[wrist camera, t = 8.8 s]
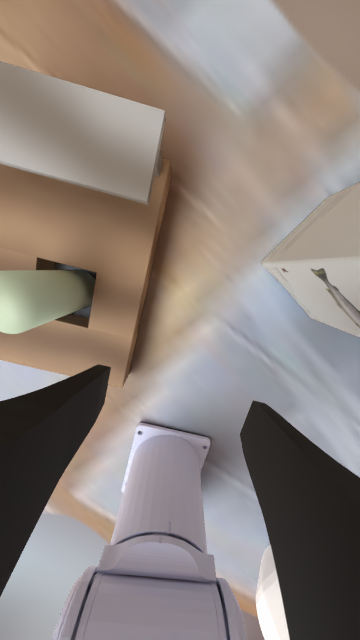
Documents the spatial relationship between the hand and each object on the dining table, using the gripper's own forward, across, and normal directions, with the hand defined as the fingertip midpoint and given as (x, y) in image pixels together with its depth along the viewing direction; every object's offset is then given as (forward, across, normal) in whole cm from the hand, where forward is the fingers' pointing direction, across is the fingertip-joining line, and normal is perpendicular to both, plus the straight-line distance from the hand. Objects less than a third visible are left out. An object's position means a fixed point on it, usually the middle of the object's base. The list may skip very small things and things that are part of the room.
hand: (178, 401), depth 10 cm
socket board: (+10, +10, -4) cm, 15 cm away
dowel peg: (+10, +10, -2) cm, 14 cm away
